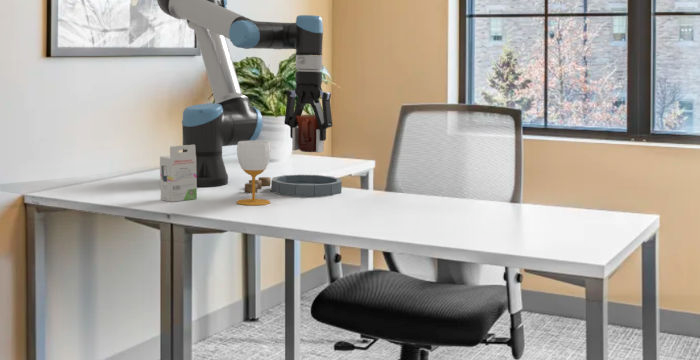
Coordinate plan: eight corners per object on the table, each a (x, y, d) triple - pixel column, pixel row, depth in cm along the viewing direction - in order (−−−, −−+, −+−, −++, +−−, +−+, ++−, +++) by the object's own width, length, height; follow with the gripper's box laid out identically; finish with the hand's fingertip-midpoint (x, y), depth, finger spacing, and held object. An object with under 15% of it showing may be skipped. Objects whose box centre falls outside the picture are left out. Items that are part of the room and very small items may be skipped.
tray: (258, 191, 252) (258, 180, 251) (297, 183, 269) (297, 172, 268) (317, 198, 242) (317, 187, 241) (354, 189, 259) (354, 179, 259)
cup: (261, 206, 228) (262, 144, 226) (230, 203, 231) (230, 142, 229) (276, 201, 237) (277, 141, 234) (245, 198, 240) (246, 139, 237)
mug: (299, 149, 260) (300, 114, 259) (328, 150, 258) (329, 115, 257) (288, 153, 248) (289, 116, 247) (319, 154, 247) (319, 117, 245)
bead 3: (255, 186, 262) (256, 178, 262) (263, 184, 265) (263, 176, 265) (265, 187, 260) (265, 179, 260) (272, 185, 263) (273, 177, 263)
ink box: (186, 196, 241) (186, 142, 238) (197, 199, 237) (197, 144, 235) (159, 199, 235) (158, 144, 232) (169, 202, 231) (169, 146, 229)
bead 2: (246, 188, 257) (246, 180, 256) (253, 187, 260) (253, 179, 259) (256, 190, 255) (256, 181, 254) (263, 188, 258) (263, 180, 258)
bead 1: (242, 192, 250) (242, 184, 250) (249, 191, 253) (249, 182, 253) (252, 193, 248) (252, 185, 248) (260, 192, 251) (260, 183, 251)
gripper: (271, 69, 252) (271, 149, 255) (332, 71, 242) (331, 154, 245) (286, 69, 259) (285, 147, 262) (346, 71, 248) (344, 152, 252)
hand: (307, 150), depth 254 cm, fingers closed on mug, 7 cm apart
